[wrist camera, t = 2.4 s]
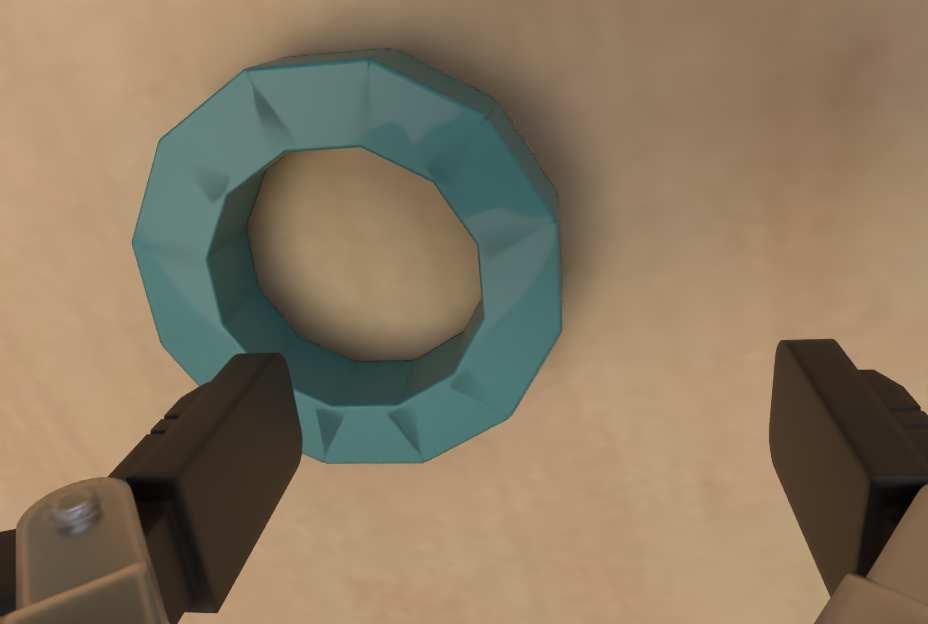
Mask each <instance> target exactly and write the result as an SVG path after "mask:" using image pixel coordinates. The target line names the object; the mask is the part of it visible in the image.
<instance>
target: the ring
mask: <svg viewBox="0 0 928 624" xmlns="http://www.w3.org/2000/svg"><path fill="white" fill-rule="evenodd" d="M354 147H362V148H364V149H366V150H368V151H370V152H372V153H374V154H376V155H378V156H380V157H382V158H384V159H386V160H388V161H391V162H393V163H395V164H397V165H399V166H401V167H403V168H405V169H407V170H409V171H411V172H413V173H415V174H417V175H419V176H421V177H423V178H425V179H428V180H430V181H432V182H433V183H434V185H435V186H436V188H437V189H438V190H439V192H440V193H441V195H442V196H443V197H444V199H445V200H446V202H447V203H448V204H449V206H450V207H451V209H452V210H453V211H454V213H455V214H456V216H457V217H458V218H459V220H460V221H461V223H462V224H463V226H464V227H465V228H466V230H467V231H468V233H469V234H470V235H471V237H472V238H473V240H474V241H475V242H476V244H477V247H478V259H479V270H480V282H481V293H482V299H481V300H480V302H479V304H478V306H477V308H476V310H475V312H474V314H473V316H472V318H471V319H470V321H469V323H468V325H467V327H466V329H465V331H464V332H463V333H461V334H459V335H458V336H456V337H454V338H452V339H451V340H449V341H447V342H446V343H444V344H442V345H440V346H439V347H437V348H435V349H434V350H432V351H430V352H429V353H427V354H425V355H423V356H422V357H420V358H418V359H417V360H415V361H377V362H353V361H351V360H349V359H347V358H345V357H342V356H340V355H338V354H336V353H334V352H332V351H329V350H327V349H325V348H323V347H321V346H319V345H316V344H314V343H312V342H310V341H308V340H306V339H303V338H301V337H299V336H298V335H297V333H296V332H295V331H294V330H293V329H292V327H291V326H290V325H289V324H288V323H287V321H286V320H285V319H284V318H283V317H282V315H281V314H280V313H279V312H278V311H277V309H276V308H275V307H274V306H273V305H272V303H271V302H270V301H269V300H268V299H267V297H266V296H265V295H264V294H263V293H262V291H261V290H260V289H259V288H258V283H257V278H256V274H255V269H254V265H253V260H252V256H251V251H250V247H249V242H248V237H247V233H246V225H247V222H248V220H249V217H250V214H251V211H252V208H253V205H254V202H255V199H256V196H257V193H258V190H259V187H260V184H261V181H262V178H263V176H264V173H265V170H267V169H268V168H269V167H271V166H272V165H273V164H275V163H276V162H277V161H279V160H280V159H281V158H283V157H284V156H285V155H286V154H288V153H289V152H295V151H310V150H324V149H339V148H354ZM132 246H133V249H134V253H135V256H136V260H137V263H138V267H139V270H140V273H141V277H142V280H143V284H144V287H145V291H146V294H147V298H148V301H149V305H150V308H151V312H152V315H153V319H154V322H155V326H156V329H157V332H158V336H159V339H160V342H161V344H162V346H163V347H164V348H165V349H166V350H167V352H168V353H169V354H170V355H171V356H172V357H173V358H174V359H175V360H176V361H177V363H178V364H179V365H180V366H181V367H182V368H183V369H184V370H185V371H186V372H187V374H188V375H189V376H190V377H191V378H192V379H193V380H194V381H195V382H196V384H197V385H198V386H201V385H203V384H204V383H206V382H210V381H211V380H212V379H213V378H214V377H215V376H216V375H217V374H218V373H219V371H220V370H221V369H222V368H223V367H224V366H225V365H226V364H227V362H228V361H229V360H230V359H231V358H232V357H233V356H234V355H235V354H240V353H278V352H279V353H281V354H282V355H283V356H284V357H285V359H286V362H287V364H288V368H289V373H290V378H291V382H292V387H293V392H294V396H295V401H296V406H297V411H298V415H299V420H300V425H301V430H302V439H303V445H302V453H303V454H305V455H307V456H309V457H312V458H314V459H316V460H318V461H321V462H323V463H327V464H354V463H424V462H427V461H429V460H431V459H433V458H435V457H437V456H439V455H440V454H442V453H444V452H446V451H448V450H450V449H452V448H454V447H456V446H458V445H459V444H461V443H463V442H465V441H467V440H469V439H471V438H473V437H475V436H477V435H479V434H480V433H482V432H484V431H486V430H488V429H490V428H492V427H494V426H496V425H498V424H500V423H501V422H503V421H505V420H507V419H508V418H509V417H510V416H512V415H513V413H514V411H515V410H516V408H517V406H518V405H519V403H520V401H521V400H522V398H523V396H524V395H525V393H526V391H527V390H528V388H529V386H530V384H531V383H532V381H533V379H534V378H535V376H536V374H537V373H538V371H539V369H540V368H541V366H542V364H543V363H544V361H545V359H546V358H547V356H548V354H549V353H550V351H551V349H552V348H553V346H554V344H555V343H556V341H557V339H558V338H559V336H560V334H561V332H562V283H561V257H560V231H559V205H558V193H557V191H556V189H555V188H554V186H553V185H552V183H551V182H550V180H549V179H548V177H547V176H546V174H545V172H544V171H543V169H542V168H541V166H540V165H539V163H538V162H537V160H536V159H535V157H534V156H533V154H532V153H531V151H530V150H529V148H528V147H527V145H526V144H525V142H524V140H523V139H522V137H521V136H520V134H519V133H518V131H517V130H516V128H515V127H514V125H513V124H512V122H511V121H510V119H509V118H508V116H507V115H506V113H505V112H504V110H503V108H502V107H501V105H500V104H499V102H497V101H495V99H494V98H492V97H490V96H488V95H486V94H484V93H482V92H480V91H478V90H476V89H474V88H472V87H470V86H468V85H466V84H464V83H462V82H460V81H458V80H456V79H454V78H452V77H450V76H448V75H446V74H444V73H442V72H440V71H438V70H436V69H434V68H432V67H430V66H428V65H426V64H424V63H422V62H420V61H418V60H416V59H414V58H412V57H410V56H408V55H406V54H404V53H402V52H400V51H398V50H396V49H391V48H385V49H373V50H362V51H350V52H339V53H328V54H316V55H305V56H293V57H285V58H281V59H278V60H274V61H271V62H267V63H264V64H260V65H257V66H253V67H250V68H247V69H244V70H243V71H241V72H240V73H239V74H238V75H237V76H235V77H234V78H233V79H232V80H231V81H229V82H228V83H227V84H226V85H225V86H223V87H222V88H221V89H220V90H218V91H217V92H216V93H215V94H214V95H212V96H211V97H210V98H209V99H208V100H206V101H205V102H204V103H203V104H202V105H200V106H199V107H198V108H197V109H196V110H194V111H193V112H192V113H191V114H190V115H188V116H187V117H186V118H185V119H184V120H182V121H181V122H180V123H179V124H178V125H176V126H175V127H174V128H173V129H172V130H170V131H169V132H168V133H167V134H166V135H164V136H163V137H162V138H161V139H160V140H159V142H158V146H157V149H156V153H155V157H154V161H153V164H152V168H151V172H150V176H149V179H148V183H147V187H146V191H145V194H144V198H143V202H142V206H141V209H140V213H139V217H138V221H137V224H136V228H135V232H134V236H133V239H132Z"/></svg>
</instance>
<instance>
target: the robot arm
mask: <svg viewBox="0 0 928 624" xmlns="http://www.w3.org/2000/svg"><path fill="white" fill-rule="evenodd" d="M769 444H770V452H771V458H772V462H773V465H774V468H775V471H776V473H777V475H778V478H779V480H780V482H781V484H782V487H783V489H784V491H785V494H786V496H787V498H788V501H789V503H790V505H791V507H792V510H793V512H794V514H795V517H796V519H797V521H798V524H799V526H800V528H801V531H802V533H803V535H804V537H805V540H806V542H807V544H808V547H809V549H810V551H811V554H812V556H813V558H814V560H815V563H816V565H817V567H818V570H819V572H820V574H821V577H822V579H823V581H824V583H825V586H826V588H827V590H828V593H829V595H830V597H831V598H830V600H829V601H828V603H827V604H826V606H825V607H824V609H823V610H822V612H821V613H820V615H819V617H818V618H817V620H816V621H815V623H814V624H928V415H927V414H926V413H925V412H924V411H921V407H920V406H919V405H918V403H917V402H916V401H915V400H914V399H913V398H912V396H911V395H910V394H909V393H908V392H907V390H906V389H905V388H904V387H903V386H901V385H899V384H898V383H896V382H894V381H893V380H891V379H889V378H887V377H886V376H884V375H882V374H880V373H879V372H877V371H875V370H858V369H857V368H856V367H855V365H854V364H853V363H852V361H851V360H850V359H849V357H848V356H847V355H846V353H845V352H844V351H843V349H842V348H841V347H840V346H839V344H838V343H837V342H836V341H835V340H834V339H805V340H781V341H780V342H779V344H778V346H777V349H776V355H775V366H774V377H773V389H772V400H771V412H770V423H769ZM302 445H303V439H302V430H301V425H300V420H299V415H298V411H297V406H296V401H295V396H294V392H293V387H292V382H291V378H290V373H289V368H288V364H287V362H286V359H285V357H284V356H283V355H282V354H281V353H279V352H278V353H240V354H235V355H234V356H233V357H232V358H231V359H230V360H229V361H228V362H227V364H226V365H225V366H224V367H223V368H222V369H221V370H220V371H219V373H218V374H217V375H216V376H215V377H214V378H213V379H212V380H211V381H210V382H206V383H204V384H203V385H201V386H199V387H198V388H196V389H194V390H193V391H191V392H190V393H188V394H186V395H185V396H183V397H181V398H180V399H179V400H178V401H177V403H176V404H175V405H174V406H173V407H172V408H171V409H170V410H169V411H168V412H167V413H166V414H165V415H164V419H161V420H160V421H159V422H158V423H157V424H156V425H155V426H154V427H153V428H152V429H151V434H147V435H146V436H145V437H144V438H143V439H142V440H141V441H140V442H139V444H138V445H137V446H136V447H135V448H134V449H133V450H132V451H131V452H130V453H129V454H128V455H127V456H126V458H125V459H124V460H123V461H122V462H121V463H120V464H119V465H118V466H117V467H116V468H115V469H114V470H113V472H112V473H111V474H110V475H109V476H108V477H101V478H92V479H87V480H82V481H79V482H75V483H72V484H70V485H67V486H64V487H62V488H60V489H58V490H55V491H53V492H52V493H50V494H48V495H46V496H45V497H43V498H42V499H40V500H39V501H37V502H36V503H35V504H33V505H32V506H31V507H30V508H29V509H28V510H27V511H26V512H25V513H24V514H23V515H22V517H21V518H20V520H19V522H18V524H17V527H16V529H13V530H8V531H3V532H0V624H178V622H179V620H180V619H181V617H182V615H183V614H184V612H196V613H218V611H219V610H220V608H221V606H222V604H223V602H224V601H225V599H226V597H227V595H228V593H229V591H230V590H231V588H232V586H233V584H234V582H235V581H236V579H237V577H238V575H239V573H240V572H241V570H242V568H243V566H244V564H245V562H246V561H247V559H248V557H249V555H250V553H251V552H252V550H253V548H254V546H255V544H256V543H257V541H258V539H259V537H260V535H261V533H262V532H263V530H264V528H265V526H266V524H267V523H268V521H269V519H270V517H271V515H272V514H273V512H274V510H275V508H276V506H277V504H278V503H279V501H280V499H281V497H282V495H283V494H284V492H285V490H286V488H287V486H288V485H289V483H290V481H291V479H292V477H293V475H294V474H295V472H296V470H297V468H298V466H299V463H300V460H301V455H302Z"/></svg>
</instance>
